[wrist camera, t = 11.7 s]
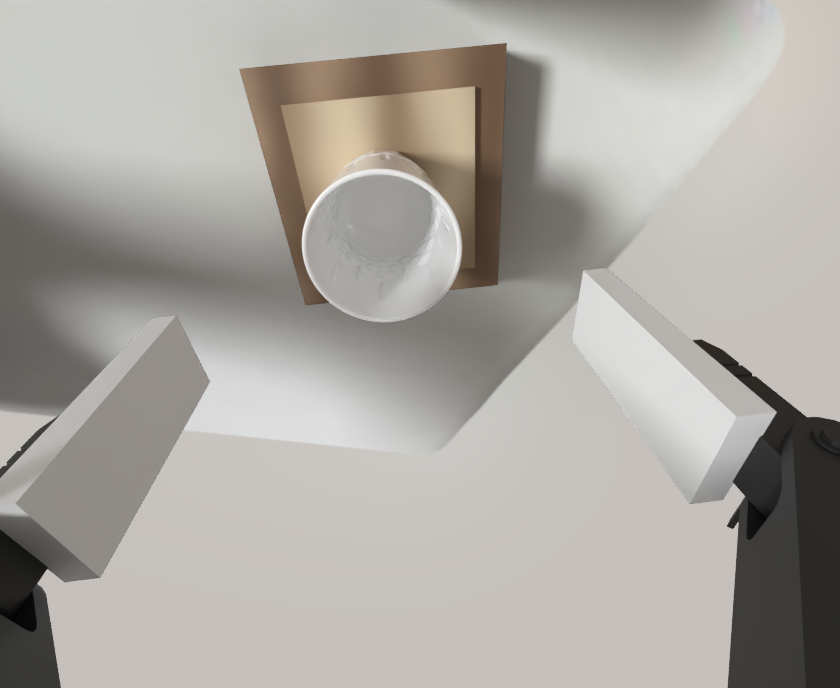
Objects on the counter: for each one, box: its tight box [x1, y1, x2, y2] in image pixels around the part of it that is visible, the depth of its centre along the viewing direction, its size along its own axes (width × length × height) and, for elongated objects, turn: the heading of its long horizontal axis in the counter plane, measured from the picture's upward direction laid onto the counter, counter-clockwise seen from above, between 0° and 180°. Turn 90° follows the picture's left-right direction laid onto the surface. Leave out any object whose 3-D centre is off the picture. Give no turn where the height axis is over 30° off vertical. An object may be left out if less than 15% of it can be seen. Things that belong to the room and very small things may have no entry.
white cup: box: [302, 150, 462, 322], centre depth 23 cm, size 8×8×10 cm
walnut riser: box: [239, 43, 507, 305], centre depth 29 cm, size 16×16×4 cm
